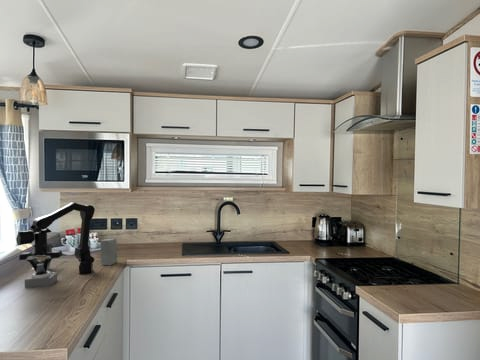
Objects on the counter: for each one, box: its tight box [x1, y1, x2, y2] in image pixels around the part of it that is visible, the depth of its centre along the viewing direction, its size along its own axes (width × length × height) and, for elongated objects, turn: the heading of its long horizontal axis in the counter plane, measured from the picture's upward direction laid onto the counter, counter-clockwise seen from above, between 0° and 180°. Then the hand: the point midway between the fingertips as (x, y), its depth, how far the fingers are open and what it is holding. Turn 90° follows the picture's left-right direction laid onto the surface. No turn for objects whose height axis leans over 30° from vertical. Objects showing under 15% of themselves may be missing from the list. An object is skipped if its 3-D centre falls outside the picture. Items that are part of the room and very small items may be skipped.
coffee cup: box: [37, 243, 54, 271], centre depth 192 cm, size 9×9×15 cm
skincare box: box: [100, 238, 118, 266], centre depth 204 cm, size 8×7×16 cm
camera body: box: [24, 270, 58, 288], centre depth 167 cm, size 12×9×6 cm
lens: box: [35, 260, 46, 275], centre depth 167 cm, size 5×5×7 cm
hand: (41, 271), depth 167 cm, fingers closed on lens, 4 cm apart
